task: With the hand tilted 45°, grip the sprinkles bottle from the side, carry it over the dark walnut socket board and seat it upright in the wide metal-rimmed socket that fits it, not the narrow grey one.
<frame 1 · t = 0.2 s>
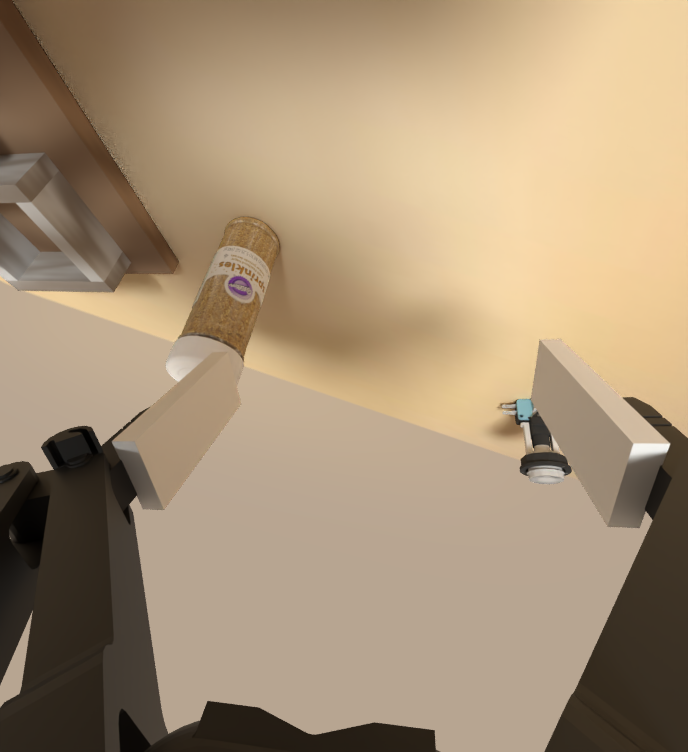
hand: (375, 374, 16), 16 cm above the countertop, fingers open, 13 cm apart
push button: (529, 401, 48), on the countertop
socket board: (1, 146, 26), on the countertop
sprinkles bottle: (253, 236, 30), on the countertop
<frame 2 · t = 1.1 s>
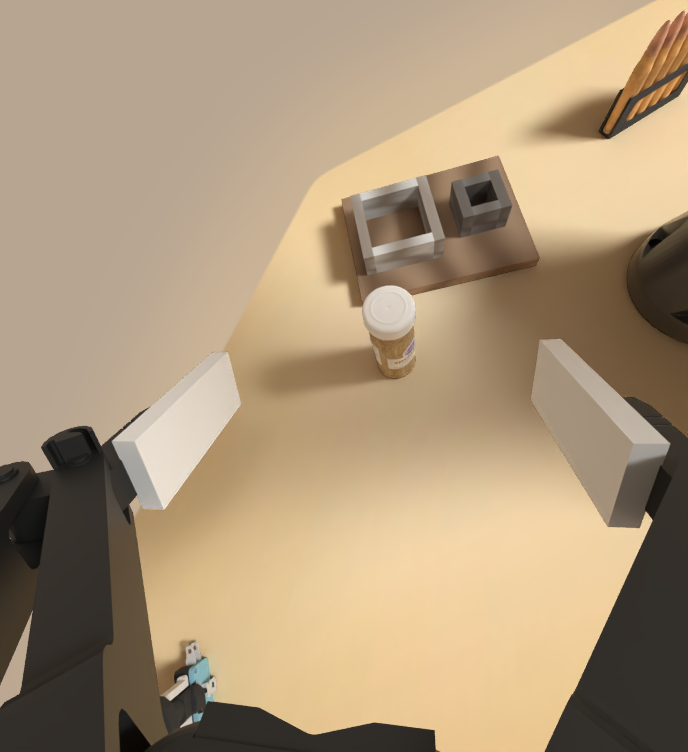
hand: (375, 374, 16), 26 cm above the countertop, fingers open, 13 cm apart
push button: (203, 676, 38), on the countertop
socket board: (431, 233, 48), on the countertop
sprinkles bottle: (396, 361, 44), on the countertop
ammunition clip: (637, 115, 48), on the countertop
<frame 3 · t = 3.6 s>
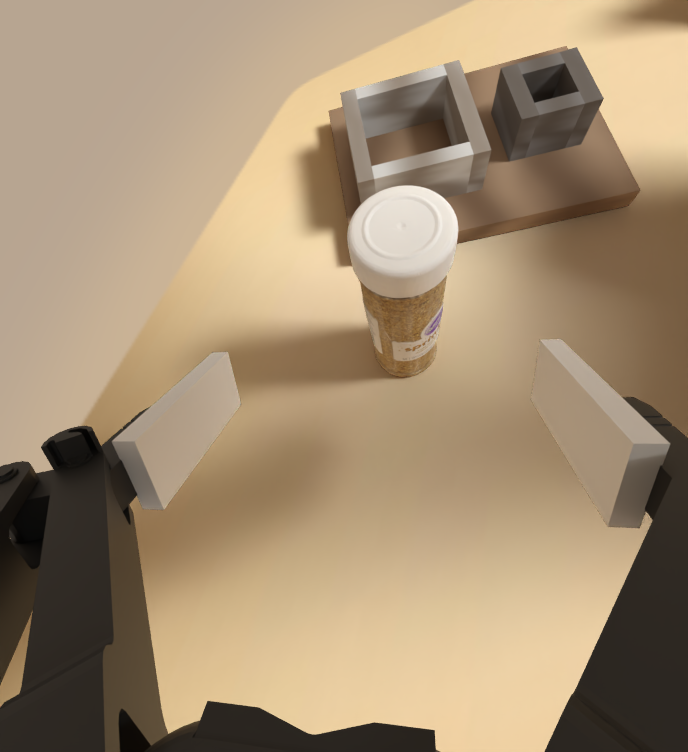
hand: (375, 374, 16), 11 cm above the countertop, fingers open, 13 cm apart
socket board: (462, 161, 32), on the countertop
sprinkles bottle: (405, 349, 28), on the countertop
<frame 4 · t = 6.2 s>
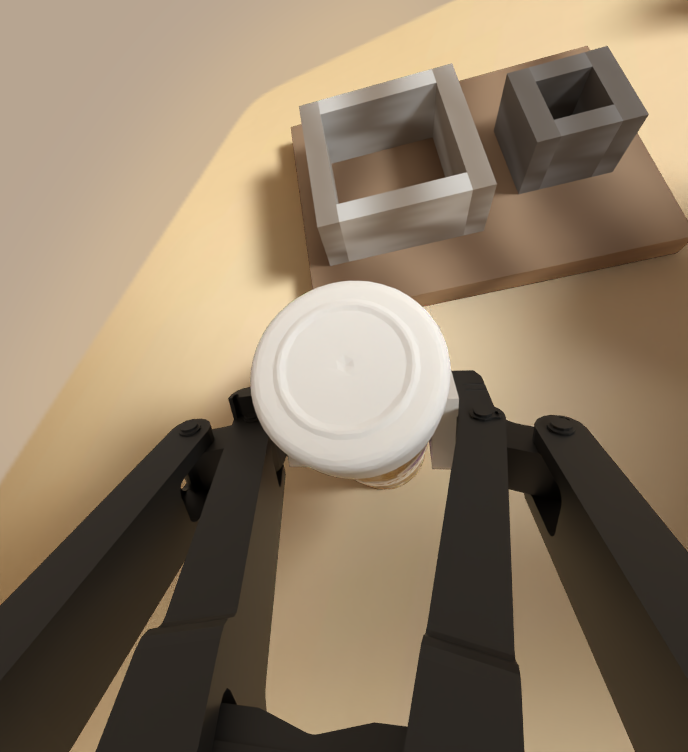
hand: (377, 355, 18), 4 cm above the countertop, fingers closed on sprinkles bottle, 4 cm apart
socket board: (457, 190, 25), on the countertop
sprinkles bottle: (383, 446, 21), on the countertop, touching gripper
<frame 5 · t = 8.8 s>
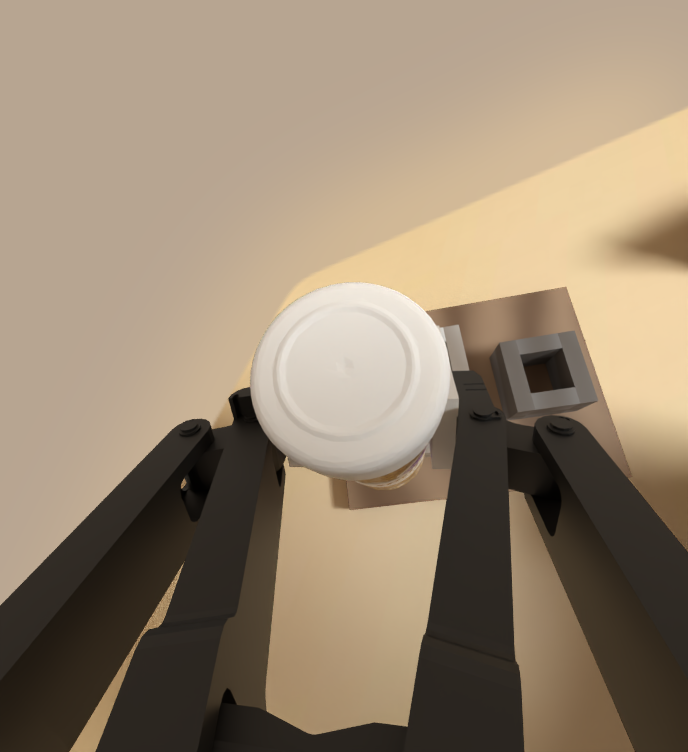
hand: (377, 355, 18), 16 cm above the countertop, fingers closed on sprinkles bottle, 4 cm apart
socket board: (459, 398, 32), on the countertop
sprinkles bottle: (383, 447, 21), point 11 cm above the countertop, touching gripper
when the fingers open (7 cm above the countertop, at t = 11.6 s): sprinkles bottle drops 1 cm, resting on socket board.
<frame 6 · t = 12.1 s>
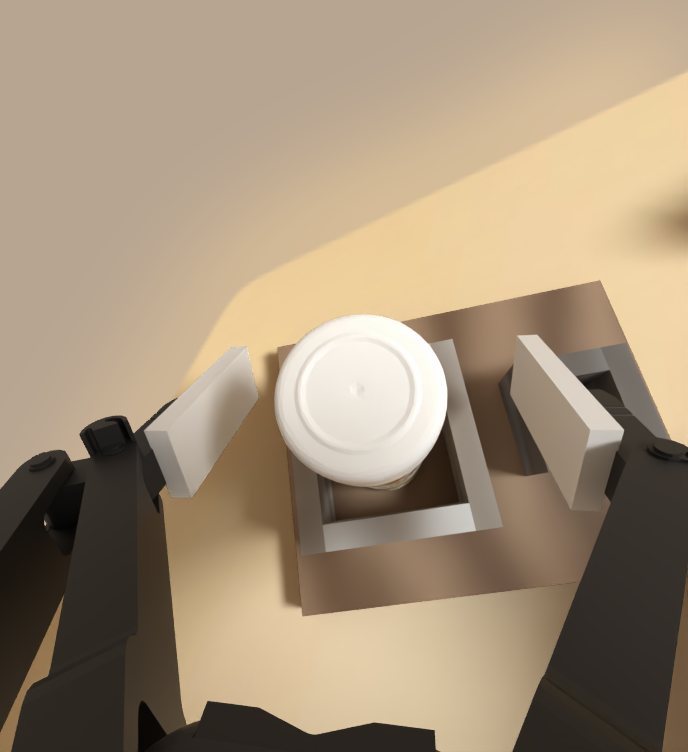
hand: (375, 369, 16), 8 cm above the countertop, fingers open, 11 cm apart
socket board: (458, 440, 23), on the countertop
sprinkles bottle: (384, 451, 22), point 1 cm above the countertop, touching socket board
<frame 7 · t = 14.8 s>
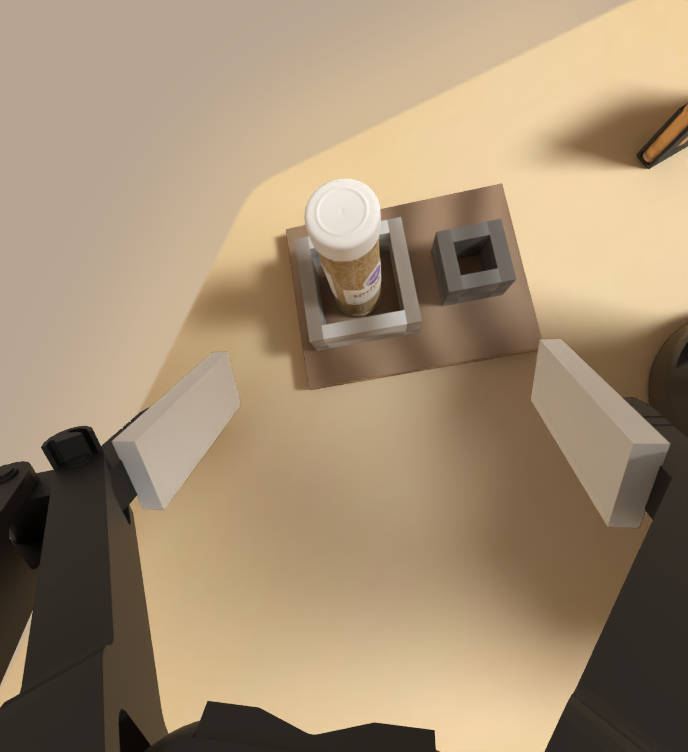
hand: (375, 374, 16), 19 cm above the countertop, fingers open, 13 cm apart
socket board: (405, 290, 36), on the countertop
sprinkles bottle: (358, 295, 35), point 1 cm above the countertop, touching socket board
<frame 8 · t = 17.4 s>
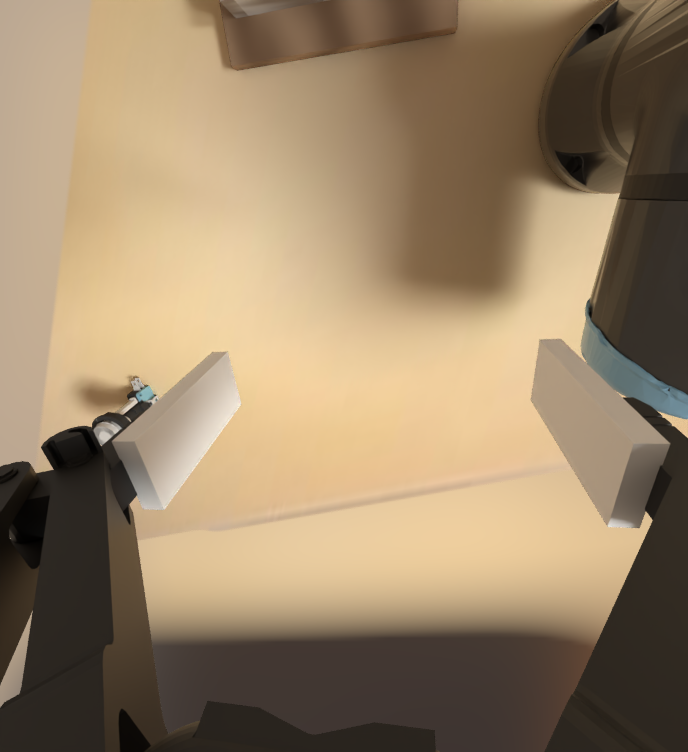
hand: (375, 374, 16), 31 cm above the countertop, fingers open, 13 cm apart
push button: (149, 394, 57), on the countertop
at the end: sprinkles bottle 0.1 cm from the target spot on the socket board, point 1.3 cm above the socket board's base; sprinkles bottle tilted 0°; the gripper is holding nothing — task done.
